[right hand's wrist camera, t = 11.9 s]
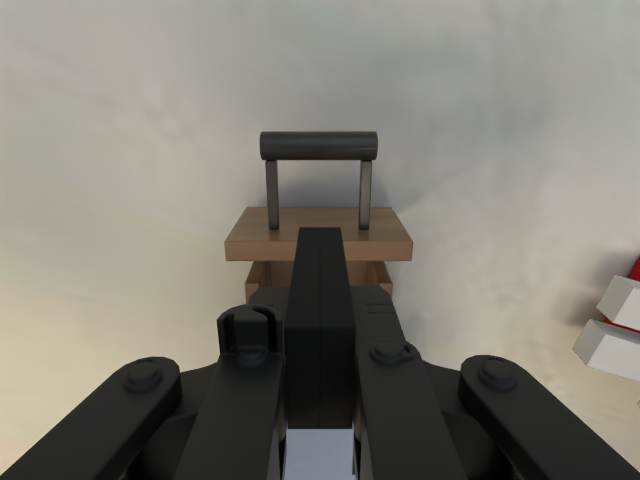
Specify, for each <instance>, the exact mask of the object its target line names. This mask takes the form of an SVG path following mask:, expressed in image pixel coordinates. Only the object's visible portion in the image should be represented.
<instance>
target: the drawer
mask: <svg viewBox="0 0 640 480" xmlns="http://www.w3.org/2000/svg"><path fill="white" fill-rule="evenodd" d="M377 150H378V136H377V132H375V131H311V132H261V134H260V155H261V158H262V160H266V162H265V163H266V184H267V205H268V207H247V208H246V209H245V211H244V212H243V214H242V215H241V217H240V218H239V220H238V222H237V223H236V225H235V226H234V228H233V229H232V231H231V232H230V234H229V235H228V237H227V239H226V240H225V242H224V243H225V254H226V261H254V262H253V265H252V267H251V270H250V272H249V275H248V277H247V280H246V282H245V293H246V304H248V301H249V298H250V295H252V294H253V293H254V292H255V291H256V290H257V289H259V288H260V287H290V284H291V278H292V272H293V265H294V259H295V252H296V246H297V239H298V233H299V227H341V233H342V239H343V246H344V252H345V259H346V265H347V272H348V278H349V284H350V286H381V287H382V288H383V289H384V290H385V291H387V292H388V293H389V294H390V297H391V300H392V287H393V284H392V281H391V278H390V276H389V273H388V271H387V268H386V265H385V263H384V261H411V260H412V250H413V241H412V239H411V237H410V236H409V234H408V233H407V231H406V230H405V228H404V226H403V225H402V223H401V222H400V220H399V218H398V217H397V215H396V214H395V212H394V211H393V209H392V207H370V199H371V177H372V161H371V160H376V157H377ZM277 160H361V161H360V190H359V207H279V198H278V171H277Z"/></svg>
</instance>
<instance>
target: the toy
mask: <svg viewBox="0 0 640 480" xmlns="http://www.w3.org/2000/svg"><path fill="white" fill-rule="evenodd" d="M596 308H597V309H599V310H600V311H601V312H602V313H603V314H604V315H605V316H606V319H605V321H604V322H600V321H596V320H593V319H589V320H588V322H587V324H586V325H585V327H584V329H583V331H582V332H581V334H580V336H579V338H578V339H577V341H576V343H575V344H574V346H573V348H572V349H573V350H574V351H575V352H576V354H577V355H578V356H579V357H580V359H581V360H582V361H583V362H584V364H585V365H586V366H588V367H591V368H595V369H598V370H601V371H605V372H608V373H611V374H615V375H618V376H621V377H625V378H628V379H631V380H635V381H638V382H640V258H639V260H638V262H637V264H636V265H635V267H634V269H633V271H632V273H631V274H630V276H629V278H625V277H621V276H618V275H614V277H613V279H612V281H611V282H610V284H609V286H608V287H607V289H606V291H605V293H604V294H603V296H602V298H601V300H600V301H599V303H598V305H597V306H596ZM637 405H638V406H639V407H640V399H639V401H638V403H637Z"/></svg>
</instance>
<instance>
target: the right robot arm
mask: <svg viewBox="0 0 640 480" xmlns="http://www.w3.org/2000/svg"><path fill="white" fill-rule="evenodd" d="M217 327H218V337H219V346H220V356H219V359H218V362H216V363H214V364H212V365H209V366H206V367H203V368H199V369H195V370H190V371H186V372H181V373H180V370H179V366H178V365H177V364H176V363H175V361H174V360H171V359H168V358H165V357H148V358H142V359H138V360H136V361H133V362H131V363H129V364H126V365H124V366H123V367H121V368H120V369H119V370H117V371H116V372H114V373H113V374H112V375H111V376H110V377H109V378H108V379H107V380H105V381H104V382H103V383H102V384H101V385H100V386H99V387H98V388H97V389H96V390H94V391H93V392H92V393H91V394H90V395H89V396H88V397H87V398H86V399H84V400H83V401H82V402H81V403H80V404H79V405H78V406H77V407H76V408H75V409H73V410H72V411H71V412H70V413H69V414H68V415H67V416H66V417H65V418H64V419H62V420H61V421H60V422H59V423H58V424H57V425H56V426H55V427H54V428H52V429H51V430H50V431H49V432H48V433H47V434H46V435H45V436H44V437H43V438H41V439H40V440H39V441H38V442H37V443H36V444H35V445H34V446H33V447H32V448H30V449H29V450H28V451H27V452H26V453H25V454H24V455H23V456H22V457H20V458H19V459H18V460H17V461H16V462H15V463H14V464H13V465H12V466H11V467H9V468H8V469H7V470H6V471H5V472H4V473H3V474H2V475H1V476H0V480H284V477H285V466H286V455H287V436H286V430H287V427H288V429H352V427H353V428H354V436H353V463H352V475H355V476H356V480H640V473H639V472H638V471H637V470H636V469H635V468H634V467H633V466H632V465H630V464H629V463H628V462H627V461H626V460H625V459H624V458H623V457H622V456H620V455H619V454H618V453H617V452H616V451H615V450H614V449H613V448H612V447H610V446H609V445H608V444H607V443H606V442H605V441H604V440H603V439H602V438H600V437H599V436H598V435H597V434H596V433H595V432H594V431H593V430H592V429H590V428H589V427H588V426H587V425H586V424H585V423H584V422H583V421H582V420H580V419H579V418H578V417H577V416H576V415H575V414H574V413H573V412H572V411H570V410H569V409H568V408H567V407H566V406H565V405H564V404H563V403H562V402H560V401H559V400H558V399H557V398H556V397H555V396H554V395H553V394H552V393H550V392H549V391H548V390H547V389H546V388H545V387H544V386H543V385H542V384H540V383H539V382H538V381H537V380H536V379H535V378H534V377H533V376H532V375H530V374H529V373H528V372H527V371H526V370H524V369H523V368H522V367H520V366H519V365H517V364H516V363H514V362H511V361H509V360H507V359H504V358H501V357H497V356H491V355H476V356H473V357H470V358H467V359H466V360H465V361H464V362H463V363H462V364H461V370H460V371H458V370H453V369H448V368H444V367H440V366H436V365H433V364H430V363H428V362H426V361H423V360H422V358H421V356H420V353H419V352H418V351H417V349H416V348H415V346H413V345H412V344H410V343H409V342H407V341H406V340H405V337H404V334H403V331H402V328H401V325H400V323H399V320H398V317H397V314H396V311H395V308H394V306H393V302H392V300H391V297H390V294H389V293H388V292H387V291H385V290H384V289H383V288H382V287H381V286H350V284H349V278H348V272H347V265H346V259H345V252H344V246H343V239H342V233H341V227H299V233H298V239H297V246H296V252H295V259H294V265H293V272H292V278H291V284H290V287H260V288H259V289H257V290H256V291H255V292H254V293H253V294H252V295H250V298H249V301H248V304H246V305H240V306H237V307H234V308H231V309H229V310H227V311H226V312H224V313H222V314H221V315H220V317H219V318H218V319H217Z"/></svg>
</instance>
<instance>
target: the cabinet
mask: <svg viewBox="0 0 640 480" xmlns="http://www.w3.org/2000/svg"><path fill="white" fill-rule="evenodd" d="M286 436H287V455H286V466H285V477H284V480H356V476H355V475H352V463H353V436H354V428H353V427H352V429H288V427H287V430H286Z"/></svg>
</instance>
